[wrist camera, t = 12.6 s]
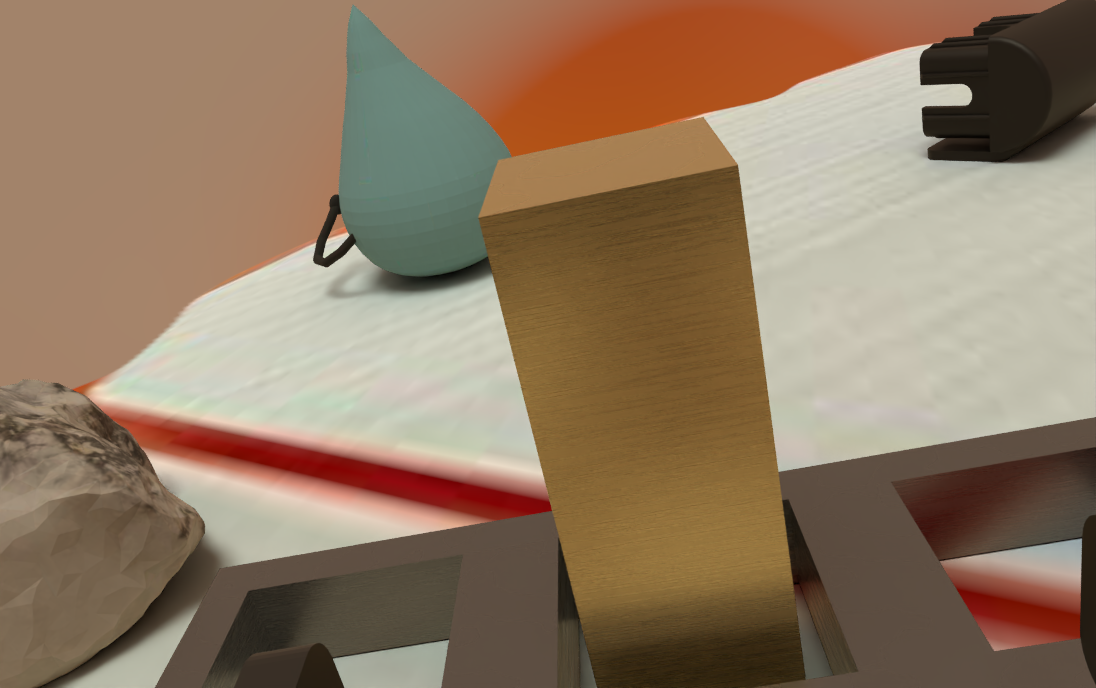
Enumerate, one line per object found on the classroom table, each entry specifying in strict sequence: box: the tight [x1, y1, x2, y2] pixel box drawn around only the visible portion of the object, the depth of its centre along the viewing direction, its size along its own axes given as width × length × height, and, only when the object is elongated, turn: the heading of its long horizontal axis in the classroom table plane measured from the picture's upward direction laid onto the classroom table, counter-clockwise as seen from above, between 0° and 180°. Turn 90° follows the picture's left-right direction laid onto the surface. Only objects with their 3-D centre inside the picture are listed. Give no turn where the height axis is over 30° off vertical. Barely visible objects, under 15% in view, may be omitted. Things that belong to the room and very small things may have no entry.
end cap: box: [920, 0, 1096, 162], centre depth 51 cm, size 10×7×7 cm
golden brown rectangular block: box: [478, 117, 806, 688], centre depth 18 cm, size 4×4×12 cm
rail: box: [155, 417, 1096, 688], centre depth 20 cm, size 24×8×2 cm, turn 89°
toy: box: [313, 5, 511, 276], centre depth 51 cm, size 15×12×15 cm
